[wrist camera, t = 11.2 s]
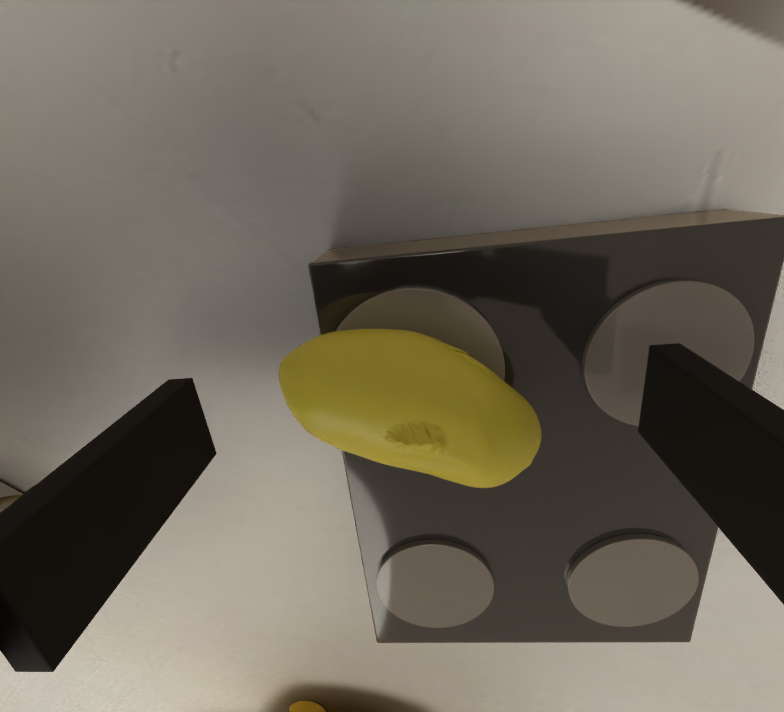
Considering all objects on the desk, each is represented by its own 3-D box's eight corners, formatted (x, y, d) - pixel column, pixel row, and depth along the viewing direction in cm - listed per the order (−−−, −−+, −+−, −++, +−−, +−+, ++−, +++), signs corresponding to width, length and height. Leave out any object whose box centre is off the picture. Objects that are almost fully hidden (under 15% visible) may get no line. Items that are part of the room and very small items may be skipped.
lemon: (492, 466, 15) (513, 554, 12) (283, 384, 15) (238, 451, 11) (553, 370, 14) (600, 438, 10) (322, 272, 13) (284, 309, 9)
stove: (327, 248, 16) (304, 265, 13) (725, 208, 14) (805, 216, 11) (382, 587, 23) (376, 650, 20) (656, 582, 21) (694, 649, 18)
